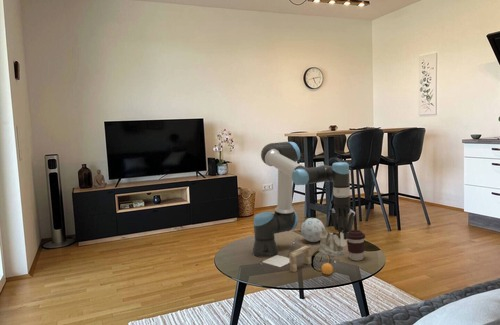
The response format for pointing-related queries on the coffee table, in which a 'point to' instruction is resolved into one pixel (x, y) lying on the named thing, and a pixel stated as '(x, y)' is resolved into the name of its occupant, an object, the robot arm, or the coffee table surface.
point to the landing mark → (277, 261)
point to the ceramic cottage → (330, 244)
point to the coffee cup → (355, 244)
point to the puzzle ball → (312, 229)
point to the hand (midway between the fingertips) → (343, 245)
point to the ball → (327, 268)
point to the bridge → (293, 254)
